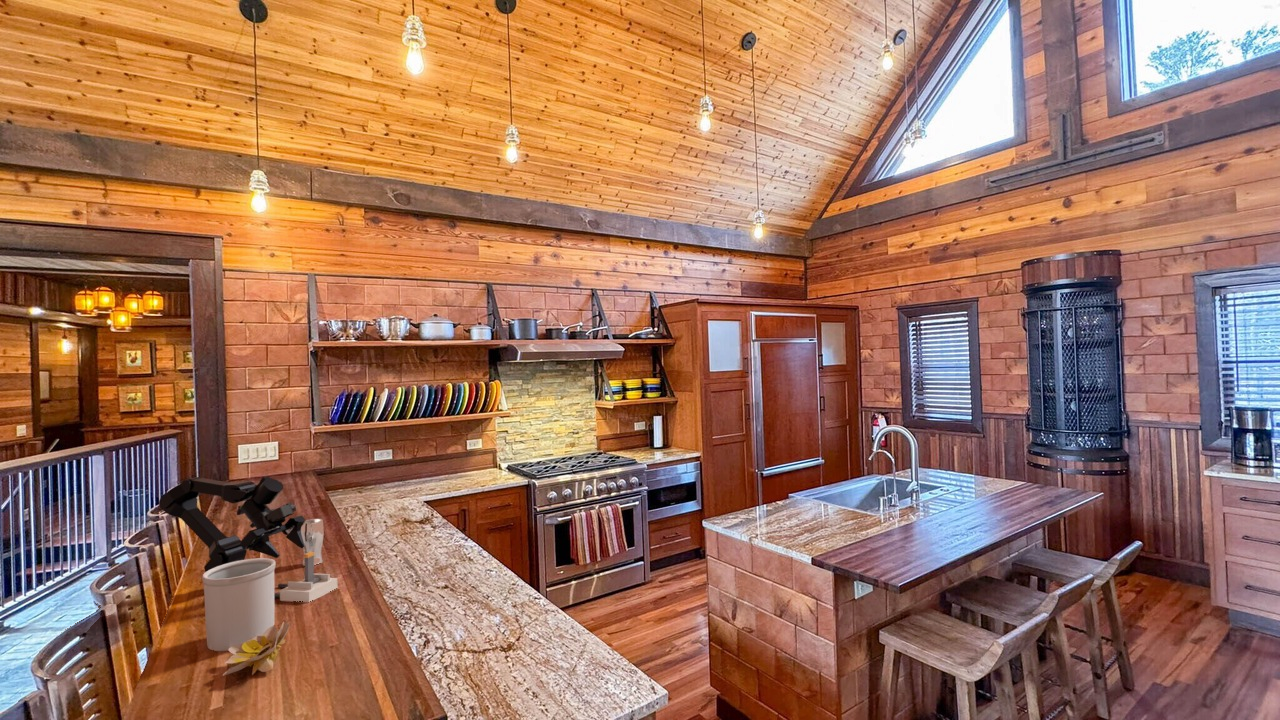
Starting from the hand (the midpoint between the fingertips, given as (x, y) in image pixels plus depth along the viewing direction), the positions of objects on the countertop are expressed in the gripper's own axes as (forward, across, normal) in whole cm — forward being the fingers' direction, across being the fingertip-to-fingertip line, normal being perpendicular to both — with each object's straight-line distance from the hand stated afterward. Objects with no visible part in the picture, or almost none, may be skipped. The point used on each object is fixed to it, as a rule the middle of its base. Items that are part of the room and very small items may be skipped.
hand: (291, 551), depth 167 cm
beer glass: (-2, +24, +20) cm, 31 cm away
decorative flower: (+29, -38, -11) cm, 48 cm away
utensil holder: (+17, -27, +1) cm, 32 cm away
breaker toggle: (+11, 0, +2) cm, 11 cm away
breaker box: (+10, 0, +8) cm, 12 cm away
